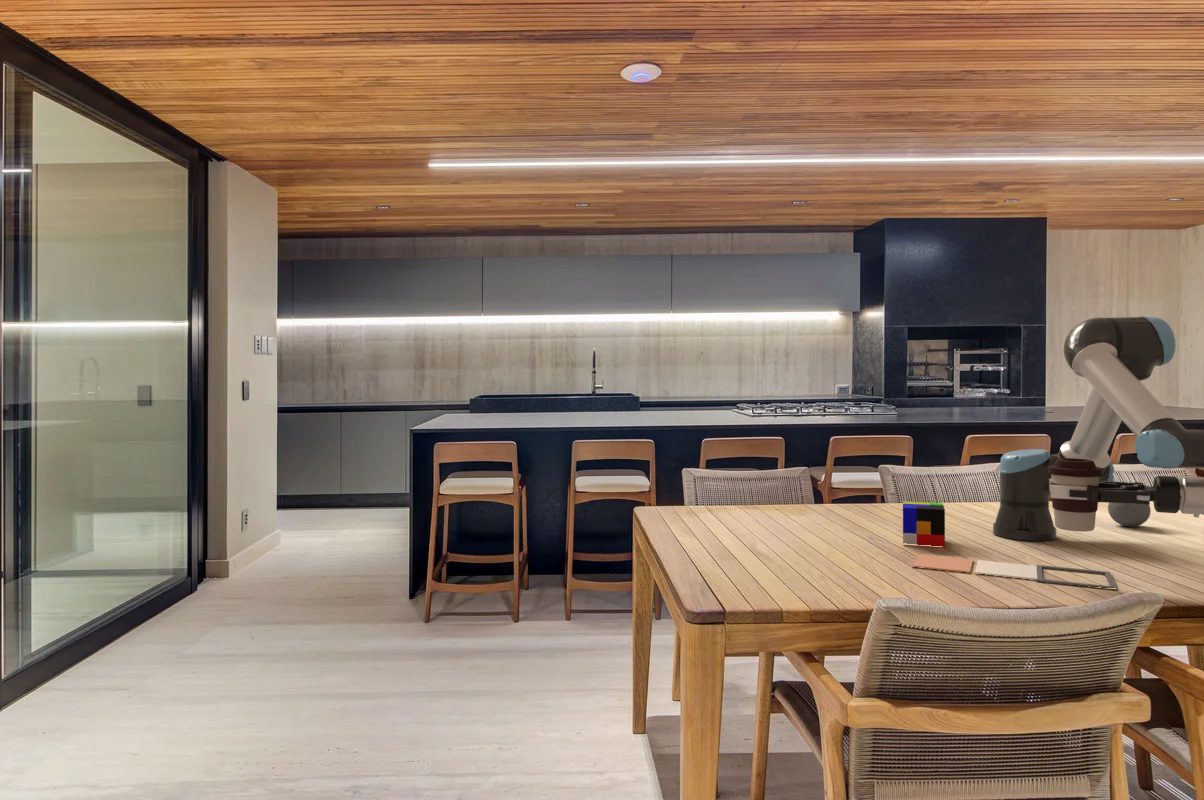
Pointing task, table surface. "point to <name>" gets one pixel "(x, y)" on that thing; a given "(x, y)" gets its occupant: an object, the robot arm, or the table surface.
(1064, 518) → the coffee cup
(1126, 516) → the decorative ball
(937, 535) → the puzzle toy
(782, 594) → the table surface
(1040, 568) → the game board
